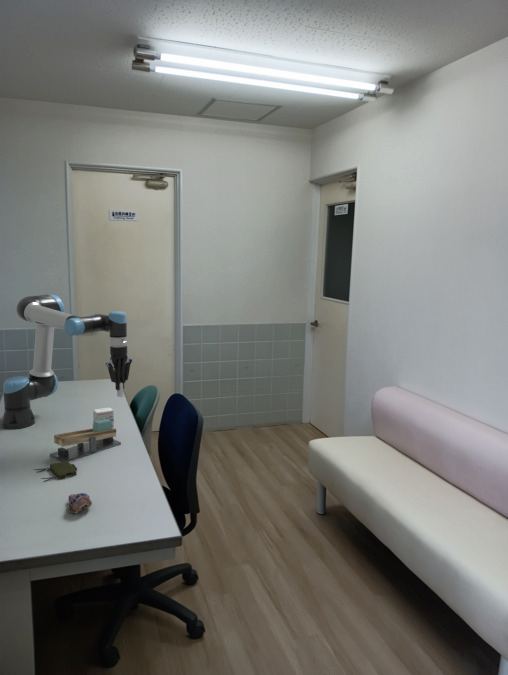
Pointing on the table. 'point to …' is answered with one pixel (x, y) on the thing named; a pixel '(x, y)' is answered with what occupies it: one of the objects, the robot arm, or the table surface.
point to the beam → (82, 436)
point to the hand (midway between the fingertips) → (120, 396)
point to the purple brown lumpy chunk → (78, 502)
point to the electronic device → (60, 470)
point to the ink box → (104, 414)
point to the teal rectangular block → (102, 425)
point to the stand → (84, 449)
